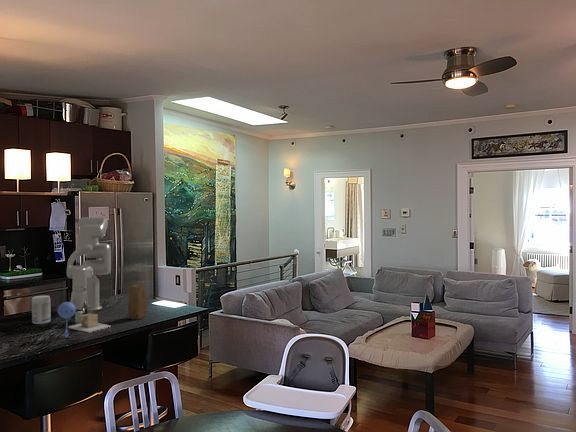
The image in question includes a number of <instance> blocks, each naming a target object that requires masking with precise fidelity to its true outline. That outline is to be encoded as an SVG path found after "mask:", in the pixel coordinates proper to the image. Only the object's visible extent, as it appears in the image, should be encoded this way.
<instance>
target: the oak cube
mask: <svg viewBox="0 0 576 432" xmlns="http://www.w3.org/2000/svg"><path fill="white" fill-rule="evenodd" d="M98 316H99V315H98V314H97V313H88V314H85V315H81V326H83V327H87V328H89V327H93V326H97V325H98V323H99V321H98V320H99V319H98Z"/></svg>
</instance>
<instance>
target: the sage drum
mask: <svg viewBox="0 0 576 432" xmlns="http://www.w3.org/2000/svg"><path fill="white" fill-rule="evenodd" d="M82 313H83V311H82V310H79V311H78V310H77V312H75V318H74V324H80V323H81V315H82Z"/></svg>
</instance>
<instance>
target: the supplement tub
mask: <svg viewBox="0 0 576 432" xmlns="http://www.w3.org/2000/svg"><path fill="white" fill-rule="evenodd" d="M51 308H52V307H51V297H50V295H36V296H33V297H31V323H32V324H35V325H43V324H48V323H50V322H51V319H52V318H51V317H52V315H51V314H52V313H51Z"/></svg>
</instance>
